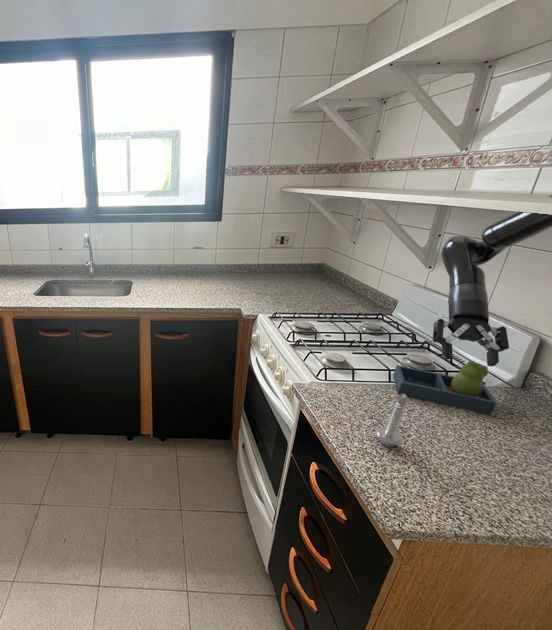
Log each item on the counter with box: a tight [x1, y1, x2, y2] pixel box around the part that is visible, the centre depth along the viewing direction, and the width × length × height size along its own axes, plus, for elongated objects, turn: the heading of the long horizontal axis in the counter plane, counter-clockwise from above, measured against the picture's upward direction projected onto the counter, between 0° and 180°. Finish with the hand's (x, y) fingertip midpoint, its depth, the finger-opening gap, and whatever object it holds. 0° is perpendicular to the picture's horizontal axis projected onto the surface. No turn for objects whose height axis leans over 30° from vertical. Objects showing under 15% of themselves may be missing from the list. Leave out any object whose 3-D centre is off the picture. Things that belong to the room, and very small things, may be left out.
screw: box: [374, 394, 408, 448], centre depth 73 cm, size 13×5×5 cm
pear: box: [451, 360, 489, 397], centre depth 87 cm, size 6×5×10 cm
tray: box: [392, 364, 498, 416], centre depth 90 cm, size 18×10×4 cm, turn 62°
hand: (469, 362), depth 86 cm, fingers open, 8 cm apart
